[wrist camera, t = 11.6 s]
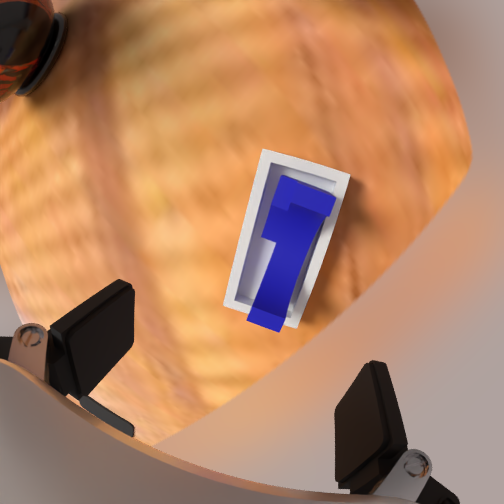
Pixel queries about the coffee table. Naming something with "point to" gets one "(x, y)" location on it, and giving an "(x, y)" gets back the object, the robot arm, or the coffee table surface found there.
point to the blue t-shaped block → (288, 246)
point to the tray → (260, 249)
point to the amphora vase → (28, 44)
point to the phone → (107, 415)
